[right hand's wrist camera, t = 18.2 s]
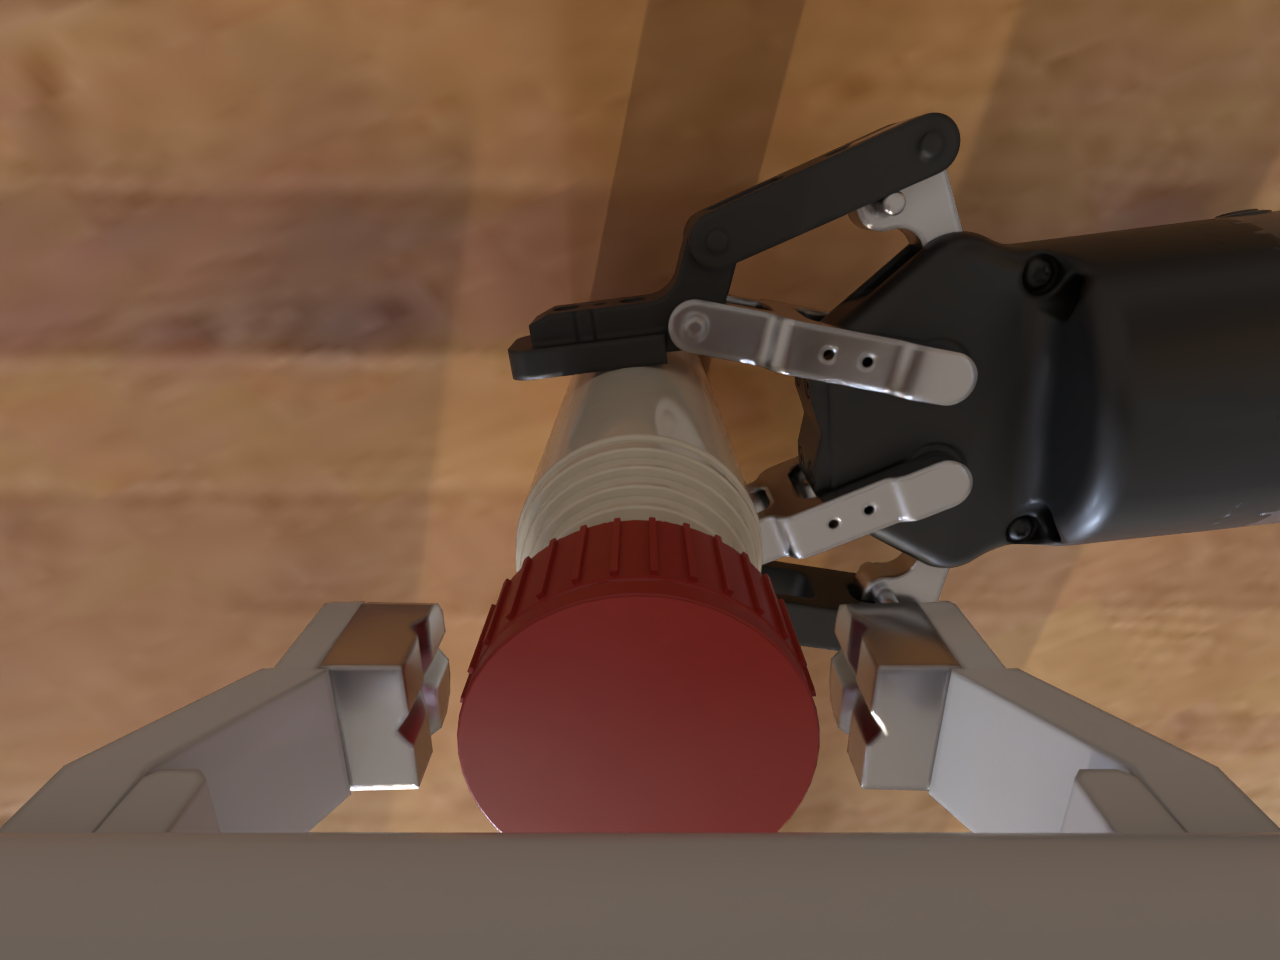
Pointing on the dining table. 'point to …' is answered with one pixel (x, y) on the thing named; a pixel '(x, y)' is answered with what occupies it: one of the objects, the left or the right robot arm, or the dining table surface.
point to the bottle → (640, 460)
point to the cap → (638, 690)
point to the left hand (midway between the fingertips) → (535, 454)
